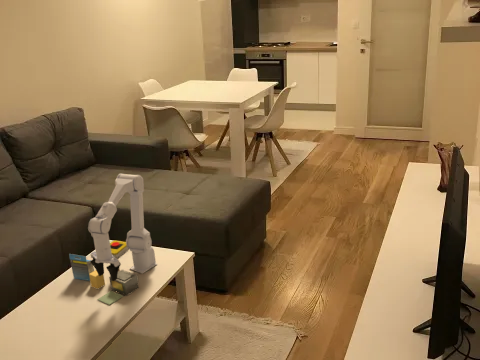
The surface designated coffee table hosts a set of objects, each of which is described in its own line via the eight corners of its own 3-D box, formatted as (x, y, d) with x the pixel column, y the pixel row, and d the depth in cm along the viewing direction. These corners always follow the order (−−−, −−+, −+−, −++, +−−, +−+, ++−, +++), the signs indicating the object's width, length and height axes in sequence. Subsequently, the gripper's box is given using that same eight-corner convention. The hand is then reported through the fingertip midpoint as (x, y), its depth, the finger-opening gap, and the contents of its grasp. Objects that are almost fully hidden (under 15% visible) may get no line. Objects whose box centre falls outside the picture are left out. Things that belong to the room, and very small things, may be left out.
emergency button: (131, 238, 248) (112, 253, 235) (132, 247, 249) (114, 262, 236) (115, 236, 251) (96, 250, 238) (116, 244, 253) (97, 259, 240)
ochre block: (98, 281, 220) (96, 269, 218) (105, 284, 218) (102, 272, 216) (91, 286, 217) (89, 274, 215) (97, 289, 215) (95, 276, 213)
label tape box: (95, 276, 224) (91, 251, 220) (90, 281, 221) (85, 256, 216) (78, 274, 227) (74, 249, 223) (73, 279, 224) (68, 253, 219)
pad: (111, 291, 212) (110, 290, 212) (122, 296, 209) (122, 295, 208) (97, 300, 207) (97, 299, 207) (109, 305, 203) (109, 304, 203)
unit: (123, 281, 219) (121, 268, 217) (139, 287, 214) (137, 274, 212) (110, 290, 214) (108, 276, 211) (125, 296, 209) (123, 282, 206)
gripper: (82, 246, 201) (87, 277, 206) (107, 255, 193) (112, 287, 198) (96, 239, 206) (101, 269, 211) (121, 247, 198) (126, 278, 203)
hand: (107, 277), depth 205 cm, fingers open, 7 cm apart
